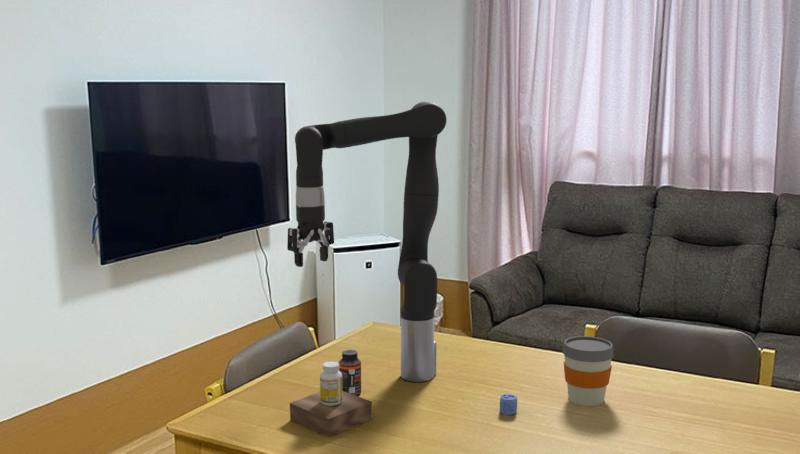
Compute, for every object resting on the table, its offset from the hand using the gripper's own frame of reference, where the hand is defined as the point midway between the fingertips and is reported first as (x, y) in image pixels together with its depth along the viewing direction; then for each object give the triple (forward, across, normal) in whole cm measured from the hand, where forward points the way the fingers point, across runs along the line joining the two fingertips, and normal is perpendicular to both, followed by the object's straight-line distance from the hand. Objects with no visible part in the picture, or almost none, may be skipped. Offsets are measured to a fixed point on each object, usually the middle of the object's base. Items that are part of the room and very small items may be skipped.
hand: (311, 263), depth 220 cm
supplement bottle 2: (+33, -1, +13) cm, 36 cm away
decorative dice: (+33, -19, +51) cm, 64 cm away
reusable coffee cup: (+33, -39, +61) cm, 80 cm away
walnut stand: (+33, +14, +22) cm, 42 cm away
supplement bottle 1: (+29, +14, +22) cm, 39 cm away
